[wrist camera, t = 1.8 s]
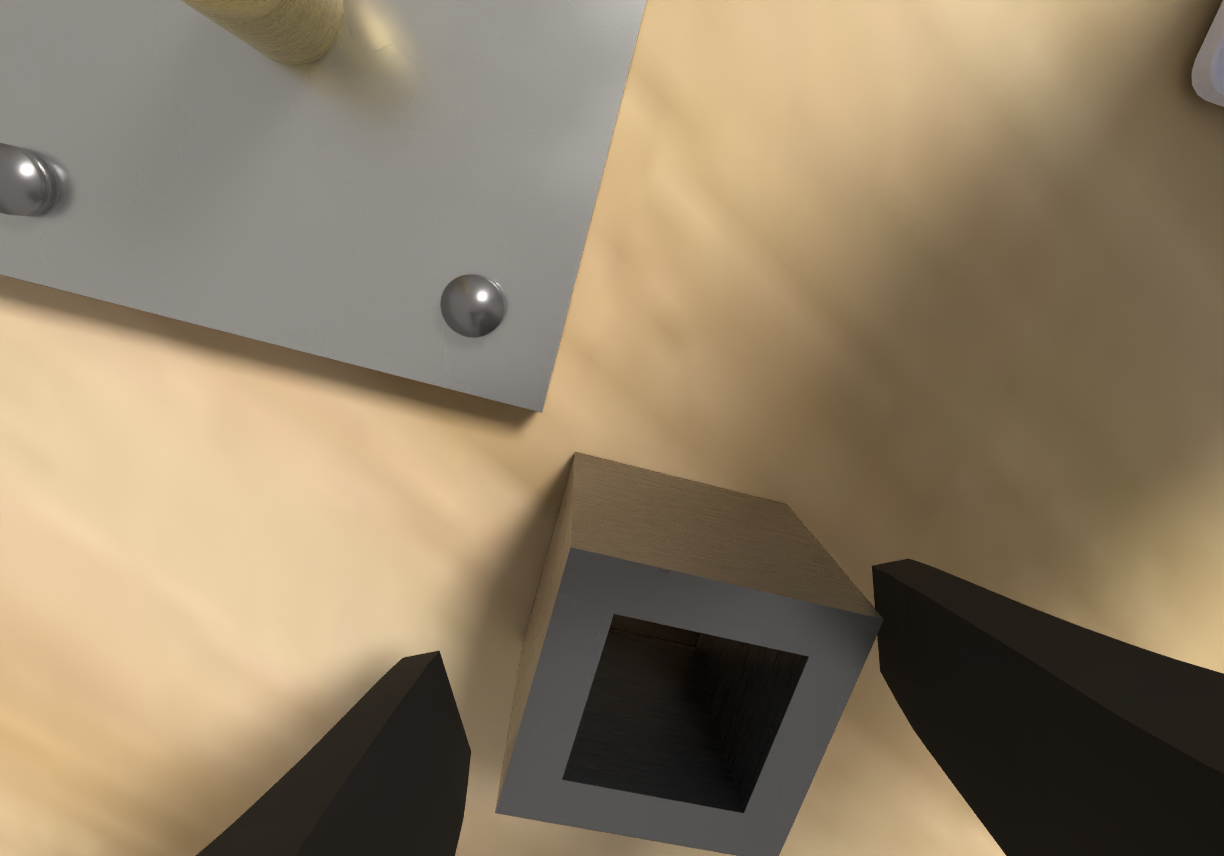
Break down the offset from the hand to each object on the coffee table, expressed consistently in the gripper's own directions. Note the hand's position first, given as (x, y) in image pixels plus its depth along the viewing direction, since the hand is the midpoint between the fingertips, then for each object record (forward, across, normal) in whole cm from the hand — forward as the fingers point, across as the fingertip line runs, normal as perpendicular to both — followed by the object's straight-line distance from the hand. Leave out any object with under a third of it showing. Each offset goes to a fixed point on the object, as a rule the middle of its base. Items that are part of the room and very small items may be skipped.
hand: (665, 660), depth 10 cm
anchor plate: (+3, +4, -11) cm, 12 cm away
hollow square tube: (+3, 0, 0) cm, 3 cm away
